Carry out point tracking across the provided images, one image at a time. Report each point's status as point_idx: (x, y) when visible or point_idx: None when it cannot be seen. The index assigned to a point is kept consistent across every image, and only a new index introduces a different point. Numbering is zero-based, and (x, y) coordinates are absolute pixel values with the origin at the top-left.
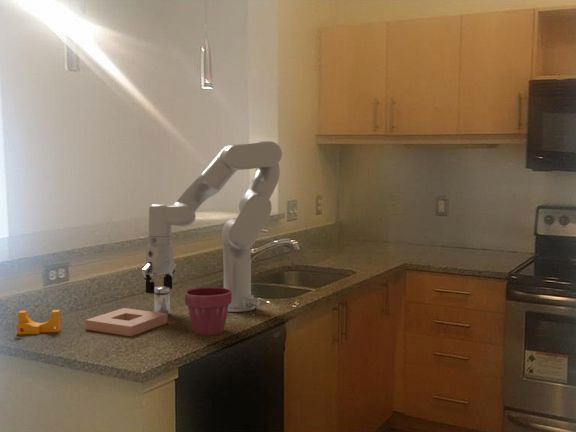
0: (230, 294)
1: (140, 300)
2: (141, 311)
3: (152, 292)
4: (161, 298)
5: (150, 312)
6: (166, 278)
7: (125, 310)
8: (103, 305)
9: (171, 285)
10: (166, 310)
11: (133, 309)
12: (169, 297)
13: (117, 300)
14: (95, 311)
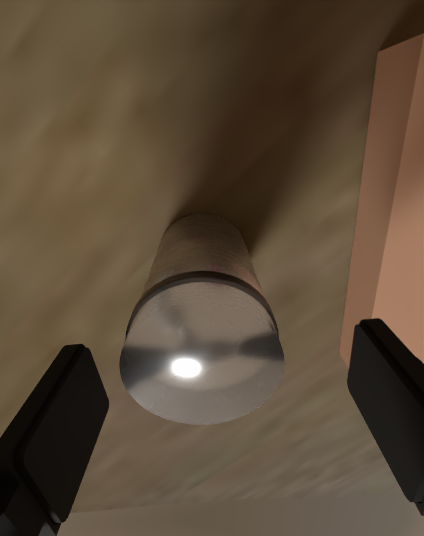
0: None
1: (87, 466)
2: (406, 266)
3: (380, 330)
4: (253, 277)
5: (417, 197)
6: (54, 488)
7: (408, 348)
8: (226, 491)
9: (60, 366)
10: (212, 223)
11: None
12: (165, 265)
13: (145, 504)
14: (308, 463)
